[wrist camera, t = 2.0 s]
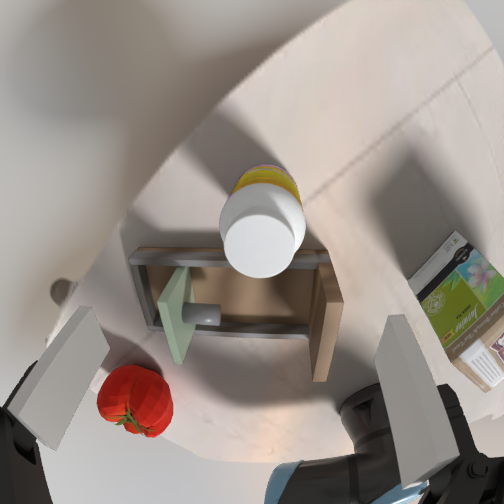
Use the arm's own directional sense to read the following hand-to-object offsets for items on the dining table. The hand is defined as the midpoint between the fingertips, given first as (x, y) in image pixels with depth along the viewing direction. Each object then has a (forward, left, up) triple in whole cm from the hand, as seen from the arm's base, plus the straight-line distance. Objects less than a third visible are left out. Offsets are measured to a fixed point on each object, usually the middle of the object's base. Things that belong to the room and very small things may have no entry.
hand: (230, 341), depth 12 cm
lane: (+4, +12, -21) cm, 24 cm away
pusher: (+7, +12, -20) cm, 24 cm away
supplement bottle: (-1, 0, -21) cm, 21 cm away
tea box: (-28, +11, -21) cm, 37 cm away
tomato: (+21, +33, -21) cm, 45 cm away
